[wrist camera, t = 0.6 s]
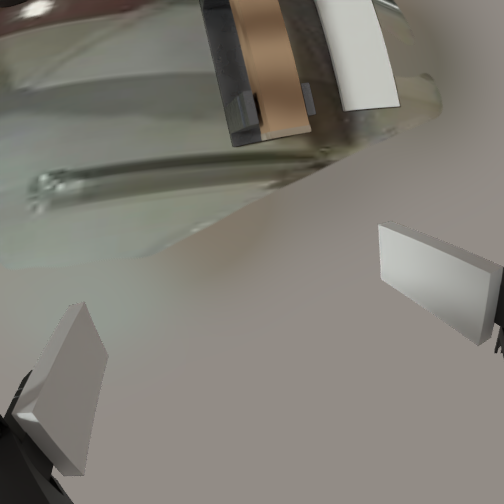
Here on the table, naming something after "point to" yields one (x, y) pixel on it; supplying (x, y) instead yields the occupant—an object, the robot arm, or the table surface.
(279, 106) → the rail
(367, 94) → the mat
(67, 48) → the table surface
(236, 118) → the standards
